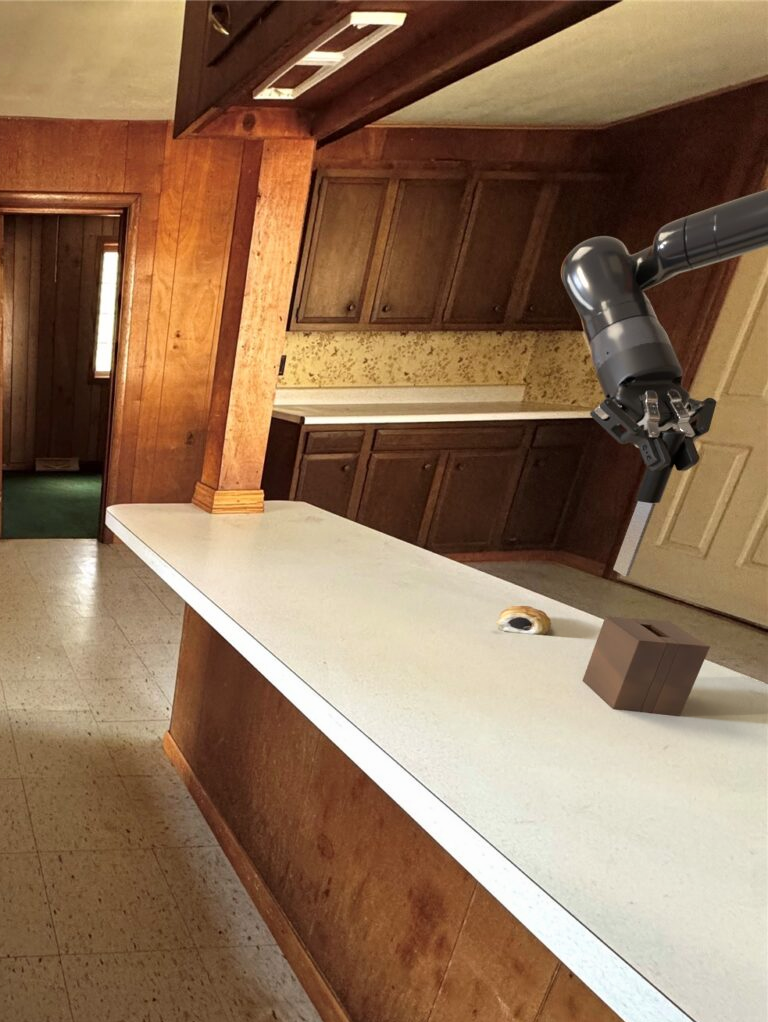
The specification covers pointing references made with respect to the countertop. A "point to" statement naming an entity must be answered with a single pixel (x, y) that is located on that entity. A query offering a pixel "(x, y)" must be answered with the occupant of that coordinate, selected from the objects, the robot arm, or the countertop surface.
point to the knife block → (644, 665)
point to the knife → (647, 503)
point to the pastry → (524, 620)
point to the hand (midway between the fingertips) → (674, 466)
